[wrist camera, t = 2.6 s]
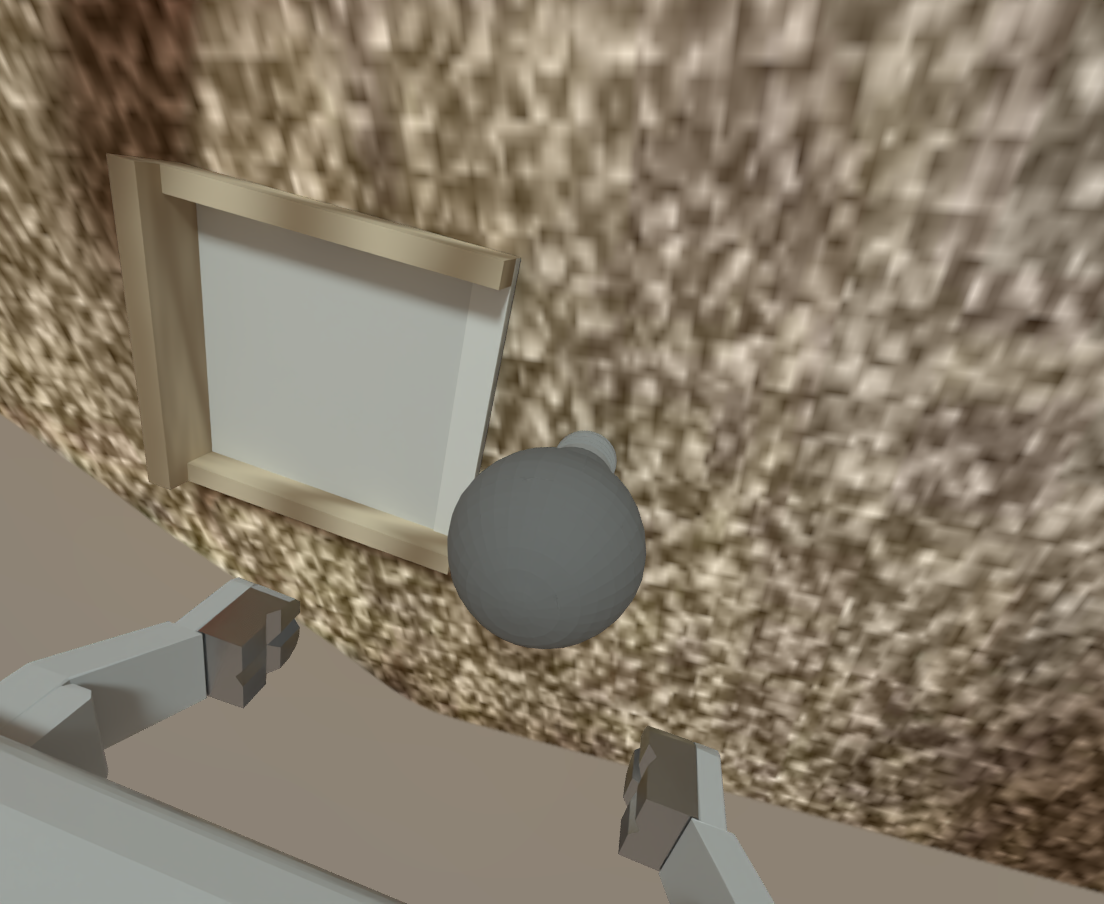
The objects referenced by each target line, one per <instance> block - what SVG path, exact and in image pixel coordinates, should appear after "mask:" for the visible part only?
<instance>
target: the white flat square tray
mask: <svg viewBox="0 0 1104 904" xmlns="http://www.w3.org/2000/svg"><path fill="white" fill-rule="evenodd" d="M196 210H197V225H198V241H199V256H200V271H201V286H202V302H203V317H204V332H205V347H206V362H207V378H208V393H209V408H210V423H211V438H212V451H213V452H216V453H219V454H221V455H224V456H227V457H230V458H233V459H236V460H238V461H241V462H244V463H247V464H250V465H253V466H255V467H258V468H261V469H264V470H267V471H270V472H272V473H275V474H278V475H281V476H284V477H287V478H289V479H292V480H295V481H298V482H301V483H304V484H306V485H309V486H312V487H315V488H318V489H321V490H323V491H326V492H329V493H332V494H335V495H338V496H340V497H343V498H346V499H349V500H352V501H355V502H357V503H360V504H363V505H366V506H369V507H372V508H374V509H377V510H380V511H383V512H386V513H388V514H391V515H394V516H397V517H400V518H403V519H405V520H408V521H411V522H414V523H417V524H420V525H422V526H425V527H428V528H431V529H434V524H435V518H436V512H437V505H438V499H439V493H440V486H441V480H442V474H443V467H444V461H445V455H446V449H447V442H448V436H449V430H450V423H451V417H452V411H453V404H454V398H455V392H456V386H457V379H458V373H459V367H460V360H461V354H462V348H463V341H464V335H465V329H466V323H467V316H468V310H469V304H470V297H471V291H472V285H473V283H472V282H469V281H465V280H462V279H458V278H455V277H451V276H448V275H444V274H441V273H437V272H434V271H430V270H427V269H424V268H420V267H417V266H413V265H410V264H406V263H403V262H399V261H396V260H392V259H389V258H385V257H382V256H378V255H375V254H372V253H368V252H365V251H361V250H358V249H354V248H351V247H347V246H344V245H340V244H337V243H333V242H330V241H327V240H323V239H320V238H316V237H313V236H309V235H306V234H302V233H299V232H295V231H292V230H288V229H285V228H282V227H278V226H275V225H271V224H268V223H264V222H261V221H257V220H254V219H250V218H247V217H243V216H240V215H237V214H233V213H230V212H226V211H223V210H219V209H216V208H212V207H209V206H205V205H202V204H198V203H196ZM520 261H521V260H520ZM517 271H518V270H517ZM517 276H518V275H517ZM517 276H516V277H517ZM516 279H517V278H516ZM515 284H516V283H515ZM515 286H516V285H515ZM514 289H515V288H514ZM511 297H512V298H513V296H511ZM512 302H513V300H512ZM512 302H511V303H512ZM510 307H511V306H510ZM510 307H509V308H510ZM510 311H511V309H510ZM508 316H509V315H508ZM508 320H509V318H508ZM507 322H508V321H507ZM507 325H508V324H507ZM505 329H506V328H505ZM506 332H507V330H506ZM505 334H506V333H505ZM504 337H505V335H504ZM505 338H506V337H505ZM505 338H504V339H505ZM504 341H505V340H504ZM503 343H504V342H503ZM503 345H504V344H503ZM502 349H503V348H502ZM500 355H501V353H500ZM501 356H502V355H501ZM500 359H501V357H500ZM499 363H500V362H499ZM498 368H500V364H499V367H498ZM497 373H498V372H497ZM497 377H498V376H497ZM497 379H498V378H497ZM497 379H496V380H497ZM495 385H496V384H495ZM495 389H496V388H495ZM495 389H494V390H495ZM494 390H493V391H492V392H494ZM493 394H494V393H493ZM492 400H493V398H492ZM492 402H493V401H492ZM491 406H492V404H491ZM490 411H491V407H490ZM489 413H491V412H489ZM487 415H488V414H487ZM487 418H489V417H487ZM489 420H490V419H489ZM489 420H486V423H487V421H488V422H489ZM488 424H489V423H488ZM486 426H487V424H486ZM485 428H486V427H485ZM486 429H487V428H486ZM486 429H485V430H486ZM486 432H487V430H486ZM486 432H485V435H486ZM484 439H486V436H485V438H484ZM484 439H483V440H484ZM484 443H485V441H484ZM484 443H483V445H485V444H484ZM483 448H484V447H482V449H483ZM483 450H484V449H483ZM481 452H482V451H481ZM480 454H481V453H480ZM482 454H483V453H482ZM480 456H481V455H480ZM481 457H482V456H481ZM479 459H480V458H479ZM481 460H482V458H481ZM479 465H481V464H480V463H479ZM479 465H478V466H479ZM479 469H480V468H479V467H478V471H479ZM478 474H479V473H477V474H476V475H478Z"/></svg>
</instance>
